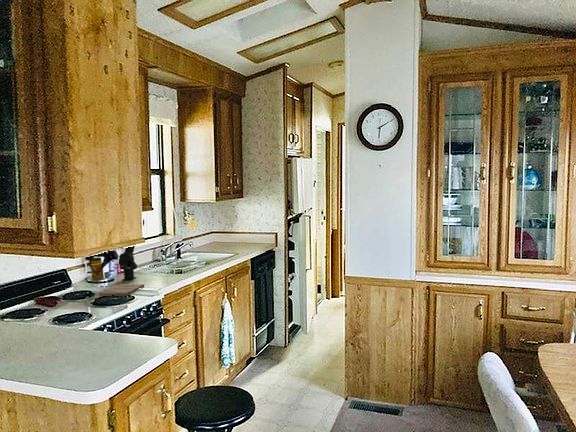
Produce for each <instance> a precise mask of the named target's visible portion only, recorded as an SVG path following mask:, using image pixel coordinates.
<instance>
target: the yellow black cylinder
mask: <svg viewBox="0 0 576 432" xmlns="http://www.w3.org/2000/svg"><path fill="white" fill-rule="evenodd" d="M102 263H103V261H102V257H94V258H92V259H91V269H90V270H91V279H87V281H89V282H101V281H103V280H106V279H108V278H107V277H105V276H104V268H101V266H102Z"/></svg>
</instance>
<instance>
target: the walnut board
mask: <svg viewBox="0 0 576 432" xmlns="http://www.w3.org/2000/svg"><path fill="white" fill-rule="evenodd" d="M143 286H144V287H145V283H144V284H143V283H140V284H139V283H117V284H114V285H113V286H111V287H109V288H107V289H104V290H102V291H100V292H98V297H102V296H103V297H128V296H130V295H131V294H133V293H135V292H137V291H139V290H140V289H139V288H141V287H143ZM144 287H143V288H144ZM138 289H139V290H138ZM141 289H142V288H141ZM136 290H137V291H136ZM112 295H114V296H112Z"/></svg>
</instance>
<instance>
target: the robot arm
mask: <svg viewBox="0 0 576 432" xmlns="http://www.w3.org/2000/svg"><path fill="white" fill-rule="evenodd" d="M144 225H145V219H143V227H144ZM135 246H136V245H135ZM135 246H133V247H128V248H126V247H125V249H124V252H123V253H120V255H119V254H118V253H117V251H116V250H115V249H114V250H113V251H109V250H108V251H107V252H104V253H101V254H98V255H94V256H90V257H86V258H84V260H85V261H89V268H90V270H91V259H92V258H103V260H102V266H101V268H103V269H104V268H105V267H106V266H107V265H108V264H109V263H111V262H112V261H114V260H118V262H117V263H118V265H119V269H120V270H121V271H122V270H123V278H122V281H133V280H135V279H137V278H138V277H137V276H135V270H136V269H138V264H137V263H136V262H135V256H134V251H135Z"/></svg>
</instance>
